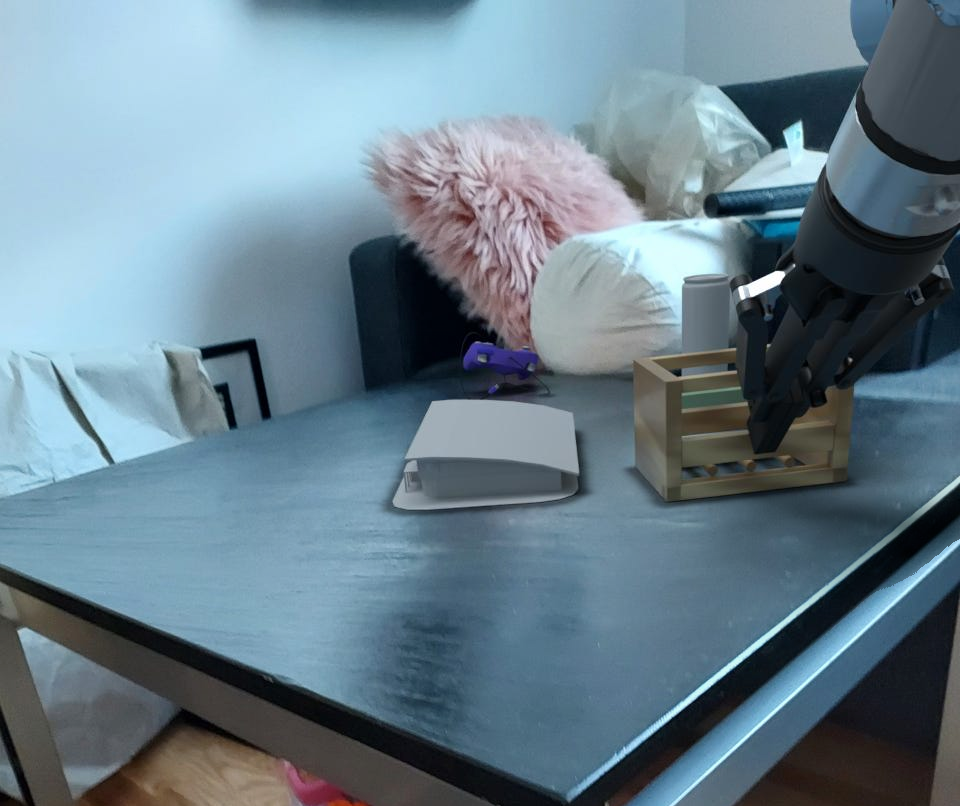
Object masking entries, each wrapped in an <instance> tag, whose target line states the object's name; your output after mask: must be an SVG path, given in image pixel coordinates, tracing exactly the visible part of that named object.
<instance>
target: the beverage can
mask: <svg viewBox="0 0 960 806" xmlns="http://www.w3.org/2000/svg"><path fill="white" fill-rule="evenodd" d="M729 277H730V275H729V274H728V273H703V274H694V275H687V276H684V277H683V278H682V279H683V281H684V282H683V283H682V285H681V354H685V353H694V352H703V351H712V350H721V349H729V344H730V343H729V342H730V340H729V339H730V310H731V309H730V308H731V288H730V281H731V280H729ZM728 365H729V363H728V364H719V365H710V366H701V367H692V368H683V369H681V377H682V376H691V375H700V374H709V373H718V372H727V371H728Z"/></svg>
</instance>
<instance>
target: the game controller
mask: <svg viewBox="0 0 960 806" xmlns="http://www.w3.org/2000/svg"><path fill="white" fill-rule="evenodd" d="M471 334H476V335H478V336H480V337H481V338H482V339H483V340H485V342H481V341H475V342H472V344H470V346H469V349H468V350H467V352H466V353H465V355H464V357H463V360H462V354H463V348H464V344H465V341H466V339H467V337H468V336H470V335H471ZM521 349H523V350H521ZM521 349H520V350H511V349H510V350H509V349H505V348H499V347H498V346H497V345H494V343H492V342H489V341H488V340H487V339H486V338H485V337H484V336H483V335H481V334H480V333H478V332H476V331H475V332H474V331H471V332H469V333H468V334H466V336H465V338H464V339H463V341H462V344H461V350H460V358H459V374H460V375H459V376H460V385H461V387H462V391H463V393H464V395H465V396H466V398H468V400H473V399H472V398H470V397H469V396H468V395H467V393H466V391H465V388H464V385H463V379H462V363H463V369H464V370H465V371H472V370H475V369H478V368H479V369H481V368H484V369H491V370H492V371H494V372H496V373H498V374H499V375H502V376H503V380H504V382H502V383H501V385H500V383H497V384H495V385H494V386H493V387H491V388H490V389H489V390H488V394H487V395H485V396H483V397H481V398H479V399H478V400H485V399H486V398H487V397H489V396H490V395H491V396H493V395H494V394H495V393H496V392H497V391H498V390H499V389H500V388H501V386H502V387H506V385H509V386H513V387H517V388H521V389H524V390H528V391H531V392H535V393H538V394H541V392H539V391H535V390H532V389H529V388H525V387H522V386H519V385H516V384H512V383H508V382H506V376H509V375H515V374H516V377H517V379H518V380H519V381H524V380H526V379H529V378H530V377H531V376H532V377H533V378H535V379H536V380H537V381H538V382H539V383H541V385H543V387H545V389H546V390H547V392H548V393H547V395H549V394H551V391H550V389H549V388H548V387H547V385H545V384H544V383H543V382H542V381H541V380H540V379H539V378H538V377H536V375H534V374H535V372H536V370H537V368H538V363H539V354H538V353H534V352H532V351H530V350H531V349H532V348H531V347H530V346H527V345H524V346H522V347H521ZM542 394H543V395H546V393H544V392H542Z"/></svg>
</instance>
